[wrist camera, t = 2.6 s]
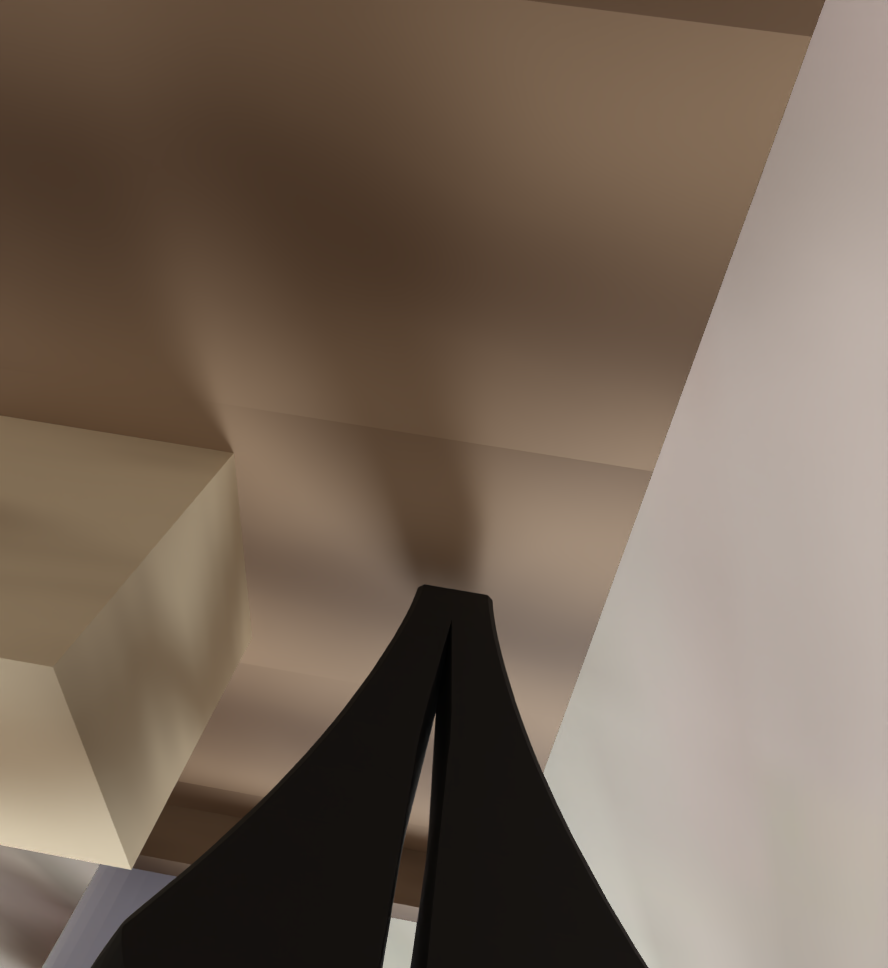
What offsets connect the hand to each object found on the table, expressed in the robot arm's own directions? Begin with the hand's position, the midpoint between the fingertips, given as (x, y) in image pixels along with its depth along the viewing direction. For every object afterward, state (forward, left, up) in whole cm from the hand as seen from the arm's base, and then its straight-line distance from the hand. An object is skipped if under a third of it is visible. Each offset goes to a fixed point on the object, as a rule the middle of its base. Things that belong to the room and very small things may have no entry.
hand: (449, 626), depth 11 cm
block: (0, +7, -1) cm, 7 cm away
